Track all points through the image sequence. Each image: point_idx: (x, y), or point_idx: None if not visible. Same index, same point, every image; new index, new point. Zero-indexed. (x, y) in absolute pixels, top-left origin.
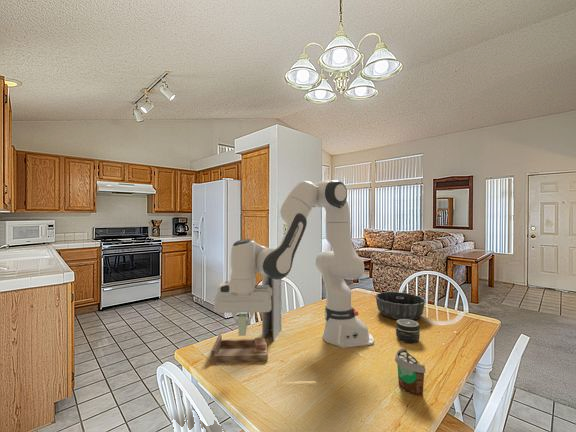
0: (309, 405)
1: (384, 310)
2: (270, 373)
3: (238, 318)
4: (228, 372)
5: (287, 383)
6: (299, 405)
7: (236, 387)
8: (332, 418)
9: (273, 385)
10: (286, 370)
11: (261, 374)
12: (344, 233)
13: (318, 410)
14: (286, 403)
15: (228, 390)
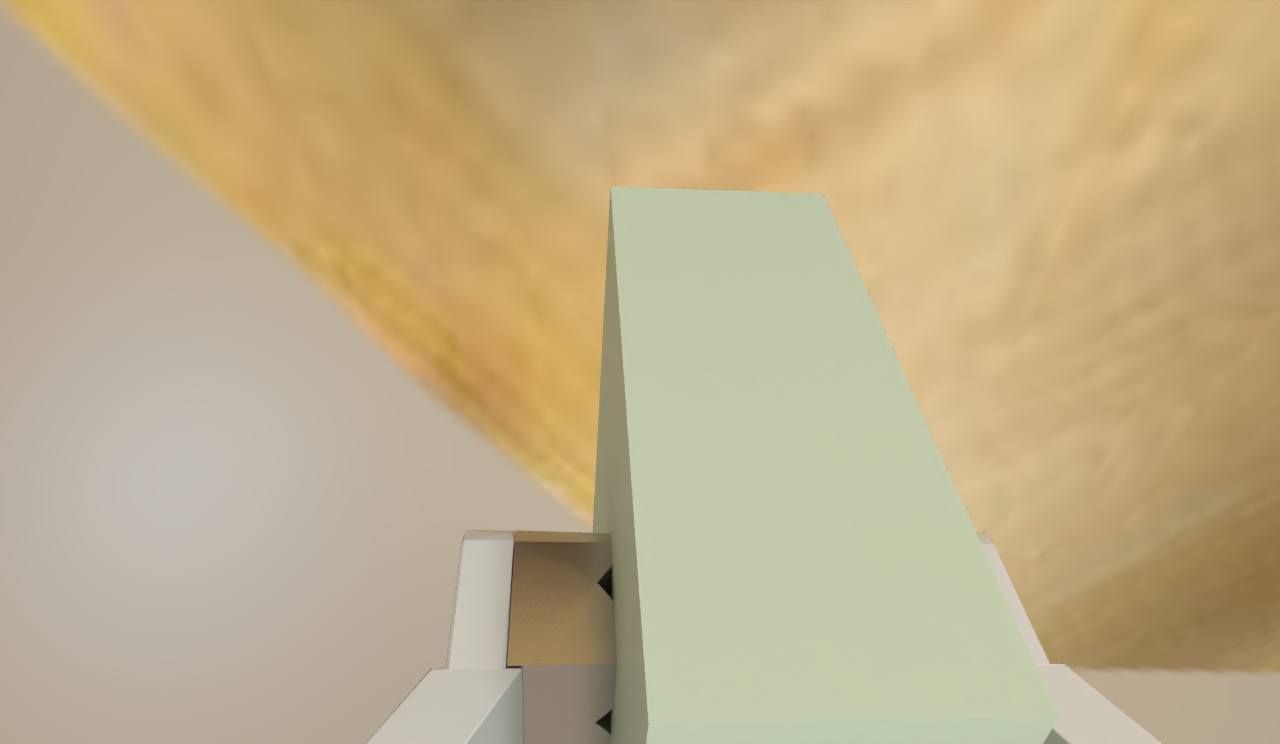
0: (1154, 537)
1: None
2: (1000, 92)
3: (553, 679)
4: (427, 16)
5: (1117, 293)
6: (1084, 535)
7: (582, 320)
8: (1227, 626)
9: (965, 314)
10: (1232, 38)
11: (880, 105)
12: None
13: (1186, 575)
14: (997, 516)
15: (506, 357)
